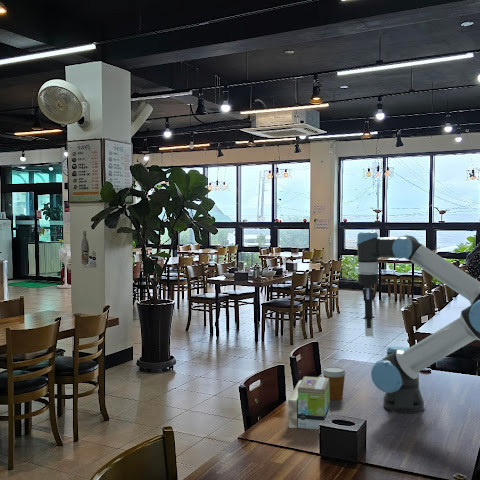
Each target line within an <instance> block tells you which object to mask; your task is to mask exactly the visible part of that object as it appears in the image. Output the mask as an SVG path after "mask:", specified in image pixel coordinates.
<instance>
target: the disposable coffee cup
mask: <svg viewBox="0 0 480 480" xmlns="http://www.w3.org/2000/svg"><path fill="white" fill-rule="evenodd" d="M346 373H347V372H346V369H345V368H344V367H342V366H337V365H335V366H326V367H324V368H323V369H322V374H323V378H329V390H330V401H341V400H342V399H343V396H344V388H345V387H344V386H345V376H346Z"/></svg>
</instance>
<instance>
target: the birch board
mask: <svg viewBox="0 0 480 480" xmlns="http://www.w3.org/2000/svg"><path fill="white" fill-rule="evenodd" d="M301 381H302V379H300V380H298V382H297V383H296V385H295V387H294V388H293V390H292V392H291V394H290V395H289V398H288V399H287V404H288V407H287V409H288V412H287V413H288V428H290V429H298V387H299V385H300V383H301Z"/></svg>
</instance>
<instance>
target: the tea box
mask: <svg viewBox="0 0 480 480" xmlns="http://www.w3.org/2000/svg"><path fill="white" fill-rule="evenodd" d="M301 380H302V381H301V383H300V385H299V387H298V428H299V429H305V430H317V431H319V430H318V429H319V424H320V423H322V422H323V421H324V420H325V419H326V418H327V417H328V416H329V417H330V413H331V411H330V408H331V407H330V406H331V405H330V401H331V400H330V390H329V378H324V376H323V377H321V376H303V377H302V379H301ZM298 428H297V429H298Z"/></svg>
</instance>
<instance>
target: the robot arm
mask: <svg viewBox="0 0 480 480" xmlns="http://www.w3.org/2000/svg"><path fill="white" fill-rule="evenodd" d="M356 239H357V240H356V241H357V243H356V246H357V248H356V250H357V251H356V253H357V264H356V268H357V272H358V274H357V283H358V284H359V285H364V288H363V289H362V294H363V301H364V317H363V318H362V319H363V320H365V322H364V325H365V326H364V328H365V337H371V338H372V337H374V319H375V316H374V312H373V301H374V293H375V288H373V286H374V285H378V284H379V274H378V273H379V270H380V268H379V266H380V265H379V259H380V258H381V259H382V258H384V259H387V258H389V259H407V260H408V261H409V262H411V263H413V264H414V265H416V266H417V267H418V268H420V269H422V270H423V271H424V272H426V273H428V275H431V276H432V277H433V278H435V279H436V280H438V281H439V282H441V283H443V284H444V285H445V286H447V287H449V288H450V289H451V290H453V291H454V292H456V293H457V294H458V295H460V296H462V297H463V298H464V299H466V300H468V301H469V303H470V305H469V306H467V307H466V308H464V309H463V310H461V311H460V315H459V318H456V319H455V320H454V321H451V322H450V323H447V324H446V325H445V326H444V327H442V328H440V329H438V330H437V331H436V332H433V333H432V334H430V335H428V336H427V337H425V338H424V339H422V340H420V341H418V342H417V343H416V344H414V345H412V346H410V347H406V346H405V347H404V346H388V347H387V349H386V355H387V356H385V357H383V358H381V359H380V360H378V361H376V362H375V364H373V367H372V368H371V370H370V371H371V372H370V376H371V381H372V383H373V384H374V385H375V387H376V388H377V389H378V390H380V391H381V392H383V393H384V396H383V401H382V402H383V407H384V408H385V409H386V410H389V411H391V412H393V413H401V414H402V413H403V414H415V413H419V412H422V411H423V410H424V408H425V403H424V402H425V401H424V398H423V396H422V393H421V390H420V378H419V377H420V376H419V374H420V373H419V372H421V371H423V370H425V369H426V368H428V367H430V366H431V365H433V364H435V363H437V362H438V361H440V360H442V359H444V358H446V357H447V356H449V355H451V354H452V353H455V352H456V351H458V350H459V349H461V348H463V347H465V346H467V345H468V344H470V343H472V342H473V341H476V340H477V341H480V281H479V280H477V279H476V278H474V277H473V276H471V275H470V274H468V273H467V272H465V271H463V270H462V269H461V268H459V267H458V266H456V265H454V264H452V263H451V262H450V261H448V260H447V259H445V258H444V257H442V256H440V255H439V254H437V253H435V252H434V251H433V250H431V249H429V248H428V247H426V246H425V245H423V244H422V243H420V242H419V240H418V239H417V238H416V237H415V236H412V235H408V234H406V235H401V236H392V237H391V236H388V237H387V236H386V237H383V236H382V237H381V236H379V234H378V232H377V231H361V232H359V233H357V238H356Z"/></svg>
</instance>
